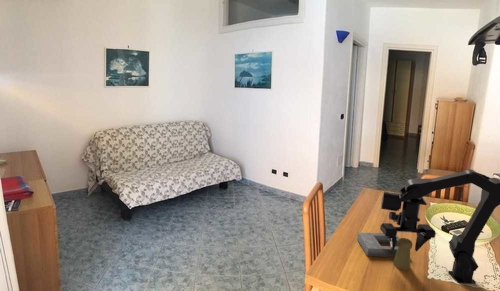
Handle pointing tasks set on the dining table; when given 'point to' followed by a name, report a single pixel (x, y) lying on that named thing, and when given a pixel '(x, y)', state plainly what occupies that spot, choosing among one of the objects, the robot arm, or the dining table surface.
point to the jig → (376, 244)
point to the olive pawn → (403, 254)
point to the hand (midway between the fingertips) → (404, 250)
